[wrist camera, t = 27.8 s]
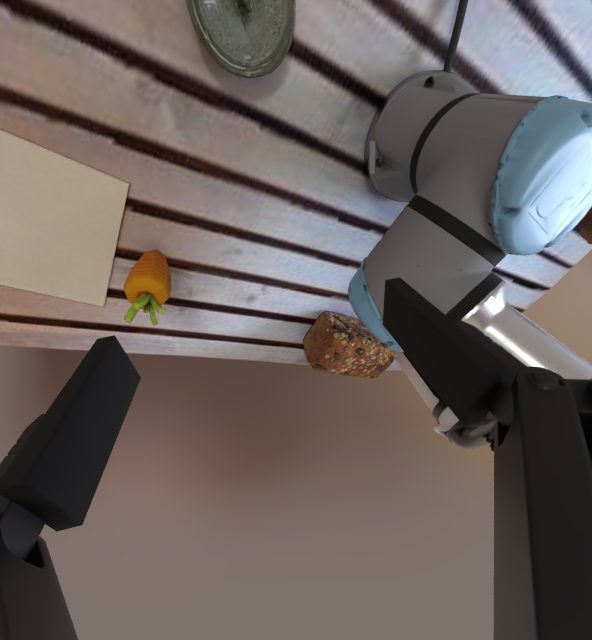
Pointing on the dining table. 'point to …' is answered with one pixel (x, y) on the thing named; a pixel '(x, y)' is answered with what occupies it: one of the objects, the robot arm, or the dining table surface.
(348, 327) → the bread
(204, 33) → the lid
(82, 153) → the dining table surface
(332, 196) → the dining table surface
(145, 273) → the carrot
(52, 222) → the napkin
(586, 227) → the butternut squash
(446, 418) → the coffee press
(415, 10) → the dining table surface
